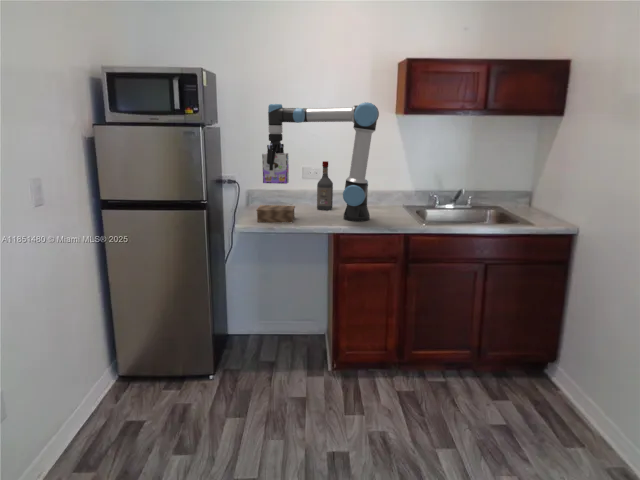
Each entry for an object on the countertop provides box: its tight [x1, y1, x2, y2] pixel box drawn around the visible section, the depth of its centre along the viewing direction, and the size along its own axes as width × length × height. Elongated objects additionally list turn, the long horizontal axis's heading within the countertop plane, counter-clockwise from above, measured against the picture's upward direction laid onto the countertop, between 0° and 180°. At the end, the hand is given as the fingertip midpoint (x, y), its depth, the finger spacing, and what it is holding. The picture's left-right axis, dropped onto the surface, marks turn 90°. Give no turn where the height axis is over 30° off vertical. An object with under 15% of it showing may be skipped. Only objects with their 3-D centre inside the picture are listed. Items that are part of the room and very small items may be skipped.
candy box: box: [261, 152, 290, 185], centre depth 267 cm, size 14×6×16 cm, turn 84°
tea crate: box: [256, 204, 296, 224], centre depth 273 cm, size 20×14×7 cm
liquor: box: [316, 160, 334, 211], centre depth 304 cm, size 9×9×30 cm
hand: (275, 175), depth 268 cm, fingers closed on candy box, 7 cm apart
